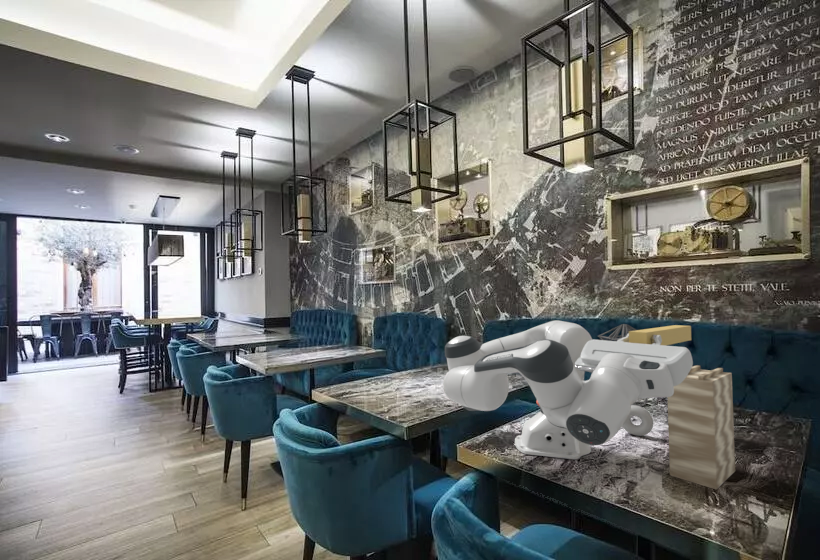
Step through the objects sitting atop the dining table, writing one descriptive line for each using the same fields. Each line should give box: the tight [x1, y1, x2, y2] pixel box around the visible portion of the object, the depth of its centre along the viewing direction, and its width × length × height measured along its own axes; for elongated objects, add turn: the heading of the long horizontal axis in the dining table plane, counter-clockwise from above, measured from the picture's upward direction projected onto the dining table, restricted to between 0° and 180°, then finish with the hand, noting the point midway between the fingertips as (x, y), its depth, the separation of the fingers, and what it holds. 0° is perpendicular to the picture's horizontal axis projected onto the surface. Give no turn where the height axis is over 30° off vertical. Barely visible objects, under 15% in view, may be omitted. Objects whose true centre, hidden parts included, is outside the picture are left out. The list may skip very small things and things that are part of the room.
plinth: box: [666, 364, 736, 490], centre depth 107 cm, size 16×10×27 cm, turn 128°
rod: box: [628, 324, 692, 346], centre depth 93 cm, size 26×4×4 cm, turn 128°
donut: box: [621, 404, 654, 437], centre depth 135 cm, size 10×4×10 cm, turn 52°
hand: (645, 336), depth 88 cm, fingers closed on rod, 3 cm apart
